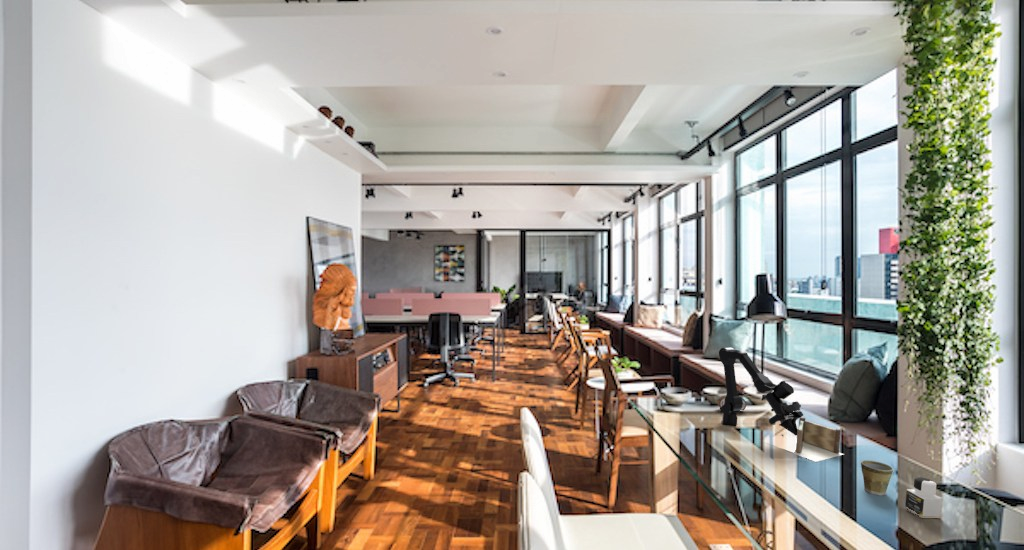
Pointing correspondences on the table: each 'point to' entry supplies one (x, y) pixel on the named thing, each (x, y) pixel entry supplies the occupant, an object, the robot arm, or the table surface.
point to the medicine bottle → (924, 498)
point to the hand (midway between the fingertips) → (797, 434)
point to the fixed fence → (821, 435)
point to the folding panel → (799, 437)
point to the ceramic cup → (876, 476)
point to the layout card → (815, 452)
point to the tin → (722, 402)
